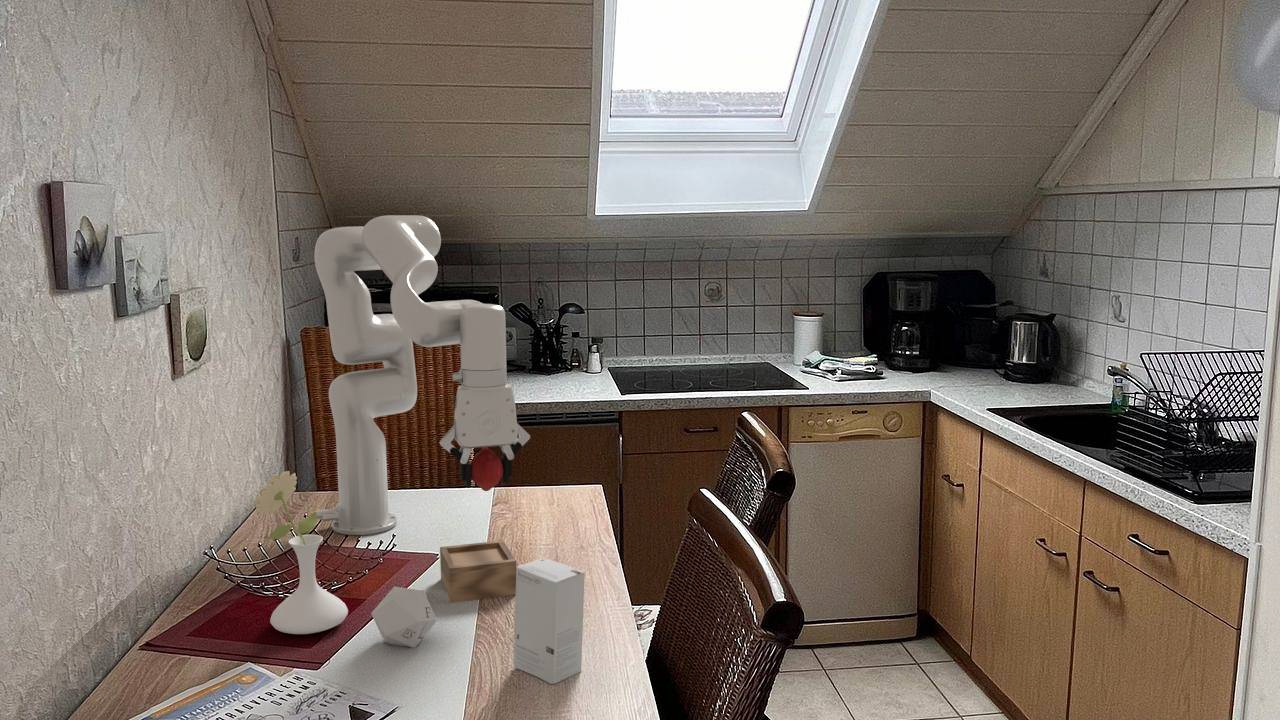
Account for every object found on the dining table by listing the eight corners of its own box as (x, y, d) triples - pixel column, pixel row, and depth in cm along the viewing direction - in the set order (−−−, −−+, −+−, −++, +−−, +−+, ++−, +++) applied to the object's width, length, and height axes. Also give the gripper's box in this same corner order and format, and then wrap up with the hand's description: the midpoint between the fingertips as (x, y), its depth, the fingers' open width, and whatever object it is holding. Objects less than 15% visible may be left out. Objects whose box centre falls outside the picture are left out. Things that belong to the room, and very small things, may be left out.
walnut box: (450, 602, 162) (449, 568, 161) (440, 579, 172) (439, 547, 172) (516, 594, 166) (516, 560, 165) (503, 571, 176) (503, 540, 175)
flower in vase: (326, 605, 161) (319, 454, 157) (362, 626, 153) (355, 468, 149) (247, 628, 152) (237, 469, 148) (280, 652, 144) (271, 484, 140)
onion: (507, 486, 172) (506, 441, 171) (500, 496, 166) (499, 449, 165) (474, 485, 172) (472, 440, 171) (466, 495, 167) (464, 448, 166)
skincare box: (512, 668, 139) (510, 566, 137) (543, 654, 144) (542, 555, 141) (555, 686, 134) (554, 581, 131) (586, 671, 138) (585, 568, 136)
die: (388, 664, 142) (428, 610, 142) (350, 624, 145) (389, 571, 145) (418, 660, 149) (456, 609, 149) (381, 623, 153) (418, 572, 152)
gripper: (435, 385, 160) (439, 493, 163) (539, 378, 166) (541, 483, 169) (428, 377, 167) (431, 482, 170) (528, 372, 173) (530, 472, 176)
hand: (486, 481), depth 169 cm, fingers closed on onion, 5 cm apart
